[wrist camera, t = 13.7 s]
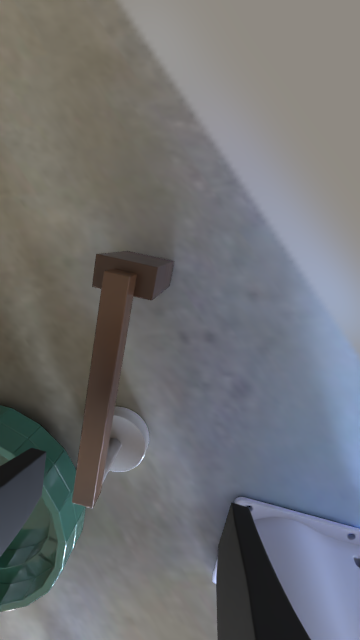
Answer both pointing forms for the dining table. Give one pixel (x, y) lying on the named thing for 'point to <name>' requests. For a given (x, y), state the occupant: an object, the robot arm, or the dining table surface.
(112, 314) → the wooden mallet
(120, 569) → the dining table surface
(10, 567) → the bowl
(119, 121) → the dining table surface
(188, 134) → the dining table surface
